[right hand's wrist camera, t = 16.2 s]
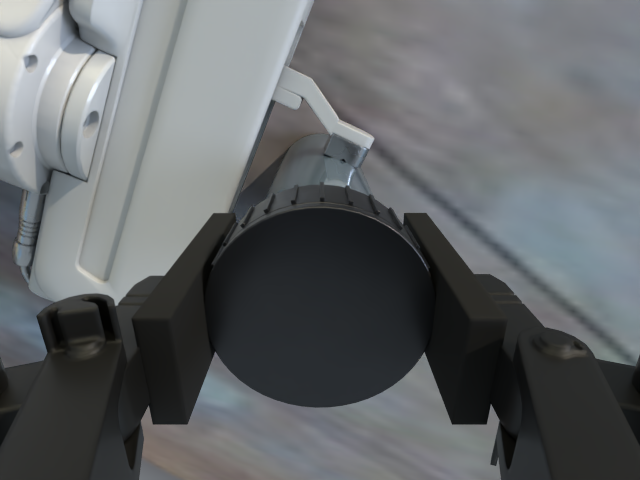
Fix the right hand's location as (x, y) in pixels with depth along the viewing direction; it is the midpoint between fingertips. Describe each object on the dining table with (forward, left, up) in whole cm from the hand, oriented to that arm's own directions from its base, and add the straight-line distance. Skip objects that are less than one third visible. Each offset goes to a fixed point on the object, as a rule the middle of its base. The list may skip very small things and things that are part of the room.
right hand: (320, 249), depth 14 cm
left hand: (0, -1, -5) cm, 5 cm away
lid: (0, 0, +4) cm, 4 cm away
